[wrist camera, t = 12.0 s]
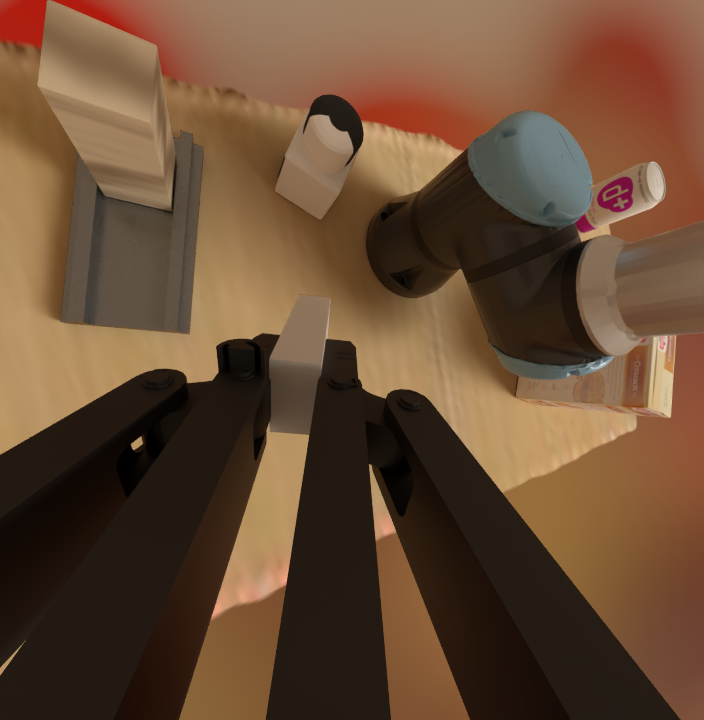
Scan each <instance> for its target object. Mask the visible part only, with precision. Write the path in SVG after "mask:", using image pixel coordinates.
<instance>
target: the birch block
mask: <svg viewBox="0 0 704 720" xmlns="http://www.w3.org/2000/svg"><path fill="white" fill-rule="evenodd" d="M38 88H39V89H40V91H41V93H42V94H43V96H44V97H45V99H46V101H47V102H48V104H49V106H50V107H51V109H52V111H53V112H54V114H55V115H56V117H57V119H58V120H59V122H60V124H61V125H62V127H63V128H64V130H65V132H66V133H67V135H68V137H69V138H70V140H71V142H72V143H73V145H74V146H75V148H76V150H77V151H78V153H79V155H80V156H81V158H82V160H83V161H84V163H85V164H86V166H87V168H88V169H89V171H90V173H91V174H92V176H93V177H94V179H95V181H96V182H97V184H98V186H99V187H100V189H101V191H102V192H103V194H104V195H105V196H108V197H112V198H116V199H120V200H125V201H129V202H133V203H137V204H142V205H146V206H150V207H154V208H159V209H163V210H167V211H171V212H172V209H173V197H174V185H175V173H176V161H177V160H176V154H175V148H174V142H173V137H172V131H171V125H170V119H169V113H168V108H167V102H166V96H165V90H164V84H163V78H162V73H161V68H160V61H159V56H158V49H157V45H155V44H152V43H150V42H148V41H145V40H143V39H141V38H138V37H136V36H134V35H131V34H129V33H126V32H124V31H122V30H119V29H117V28H115V27H112V26H110V25H108V24H105V23H103V22H101V21H98V20H96V19H94V18H91V17H89V16H87V15H84V14H82V13H80V12H77V11H75V10H73V9H70V8H68V7H66V6H63V5H61V4H59V3H56V2H54V1H51V0H47V7H46V16H45V25H44V34H43V42H42V51H41V60H40V68H39V77H38Z"/></svg>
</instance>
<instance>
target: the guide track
mask: <svg viewBox="0 0 704 720" xmlns="http://www.w3.org/2000/svg"><path fill="white" fill-rule="evenodd" d="M173 142H174V148H175V154H176V160H177V161H176V173H175V185H174V197H173V209H172V212H171V211H167V210H163V209H159V208H154V207H150V206H146V205H142V204H137V203H133V202H129V201H125V200H120V199H116V198H112V197H108V196H105V195H104V194H103V192H102V191H101V189H100V187H99V186H98V184H97V182H96V181H95V179H94V177H93V176H92V174H91V173H90V171H89V169H88V168H87V166H86V164H85V163H84V161H83V160H82V158H81V156H80V155H79V153H78V157H77V166H76V176H75V186H74V195H73V205H72V215H71V224H70V234H69V243H68V253H67V263H66V272H65V282H64V292H63V301H62V311H61V320H60V322H63V323H70V324H81V325H92V326H104V327H115V328H126V329H138V330H149V331H160V332H171V333H183V334H190V321H191V307H192V294H193V281H194V268H195V255H196V242H197V229H198V216H199V203H200V190H201V177H202V164H203V146H199V145H196V144H193V134H191V133H188V132H185V131H182V130H180V139H178V138H175V137H173Z"/></svg>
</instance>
